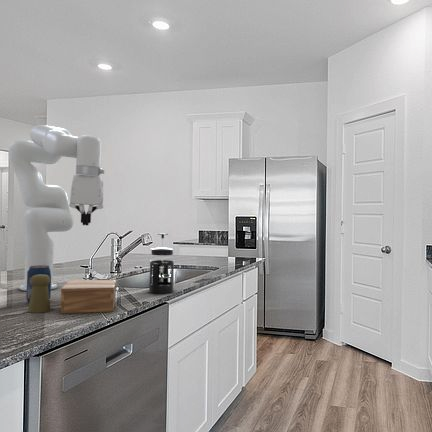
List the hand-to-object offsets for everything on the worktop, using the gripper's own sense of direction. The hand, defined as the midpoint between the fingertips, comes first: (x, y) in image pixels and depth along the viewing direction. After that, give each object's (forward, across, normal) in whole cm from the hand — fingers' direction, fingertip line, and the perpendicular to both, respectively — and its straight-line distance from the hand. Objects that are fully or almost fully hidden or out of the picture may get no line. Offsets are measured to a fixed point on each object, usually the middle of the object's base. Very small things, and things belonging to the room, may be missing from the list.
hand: (85, 225), depth 148 cm
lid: (+19, -4, +13) cm, 23 cm away
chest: (+26, -4, +12) cm, 29 cm away
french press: (+26, -27, -11) cm, 39 cm away
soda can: (+26, +13, +2) cm, 30 cm away
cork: (+26, +10, +15) cm, 32 cm away
